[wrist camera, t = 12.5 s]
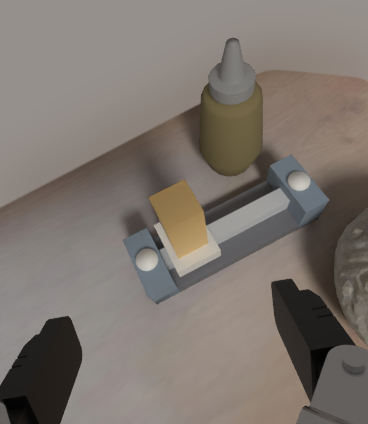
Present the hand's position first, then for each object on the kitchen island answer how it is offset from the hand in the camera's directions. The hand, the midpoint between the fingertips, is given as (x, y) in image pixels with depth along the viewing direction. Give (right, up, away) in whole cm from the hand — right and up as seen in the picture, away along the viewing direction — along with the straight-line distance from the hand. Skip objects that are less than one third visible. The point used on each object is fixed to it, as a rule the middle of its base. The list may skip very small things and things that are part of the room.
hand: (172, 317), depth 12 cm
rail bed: (+6, +1, +27) cm, 28 cm away
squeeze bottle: (+7, +11, +32) cm, 35 cm away
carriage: (+1, 0, +25) cm, 25 cm away
